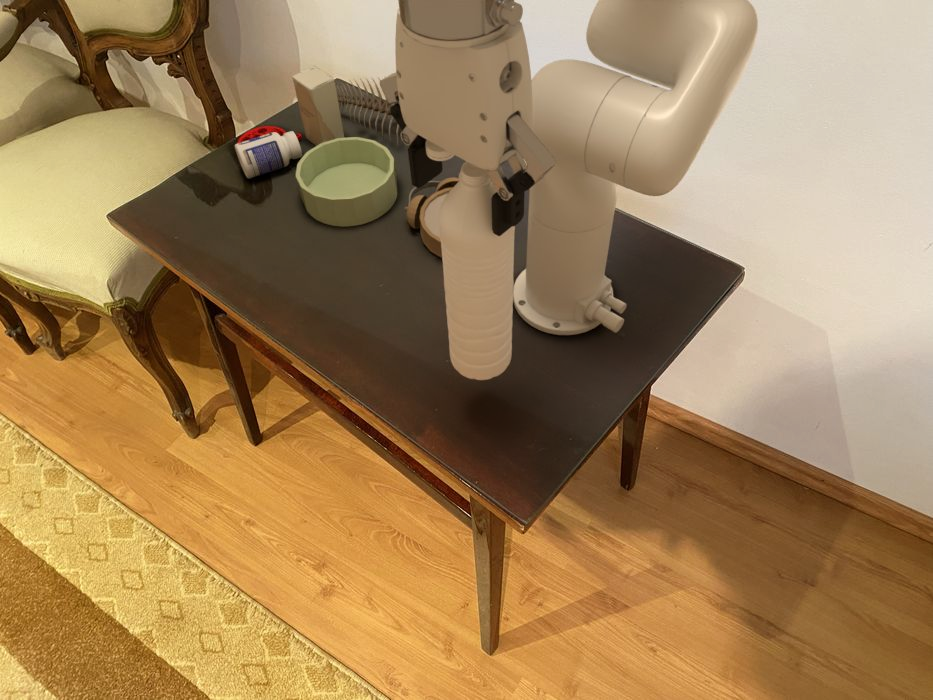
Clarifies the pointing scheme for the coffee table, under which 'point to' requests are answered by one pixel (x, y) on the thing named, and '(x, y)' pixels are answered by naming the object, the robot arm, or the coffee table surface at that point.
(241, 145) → the pill bottle
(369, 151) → the holder
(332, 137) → the box
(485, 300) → the plastic bottle and lid
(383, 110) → the fish skeleton
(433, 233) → the alarm clock
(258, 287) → the coffee table surface
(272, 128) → the ornament
